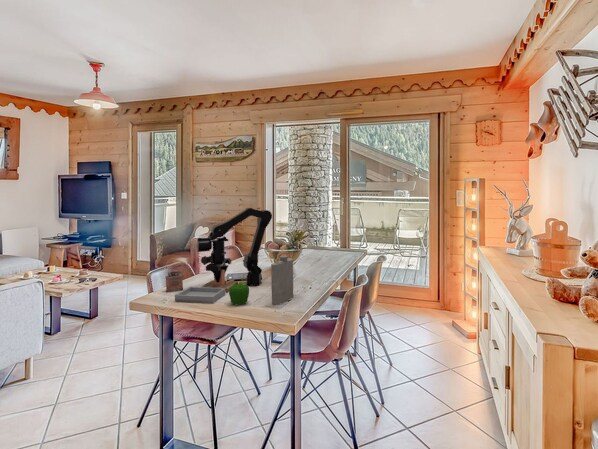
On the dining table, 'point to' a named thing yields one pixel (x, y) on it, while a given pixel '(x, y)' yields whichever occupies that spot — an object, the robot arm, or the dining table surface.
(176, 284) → the lighter
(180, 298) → the tray
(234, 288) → the bell pepper
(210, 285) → the socket block
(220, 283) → the brown tall block
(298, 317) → the dining table surface
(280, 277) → the hip flask
